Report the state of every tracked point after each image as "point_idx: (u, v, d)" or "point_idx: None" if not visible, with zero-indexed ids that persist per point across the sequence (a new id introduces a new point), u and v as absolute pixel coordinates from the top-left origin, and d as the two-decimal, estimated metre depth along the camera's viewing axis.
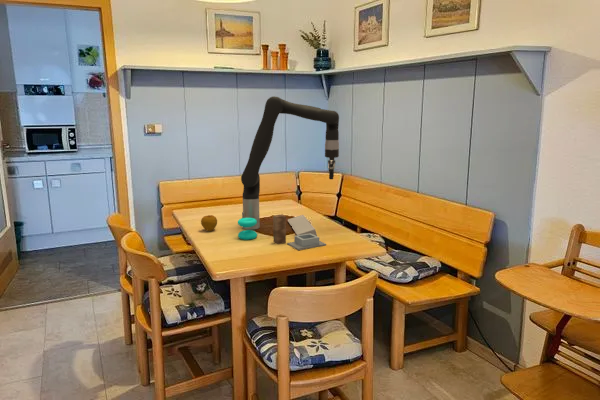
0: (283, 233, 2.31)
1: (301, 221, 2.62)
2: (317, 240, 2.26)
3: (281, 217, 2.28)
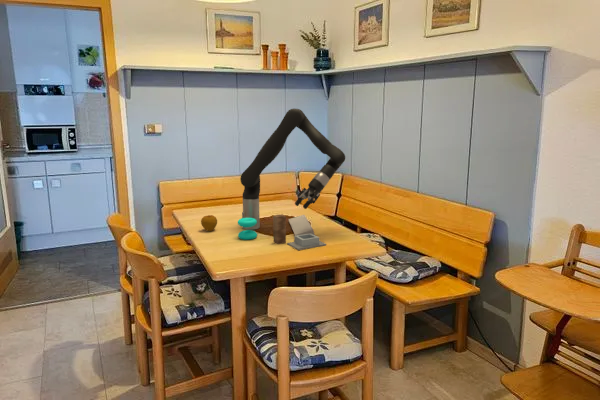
0: (283, 233, 2.31)
1: (301, 221, 2.62)
2: (317, 240, 2.26)
3: (281, 217, 2.28)
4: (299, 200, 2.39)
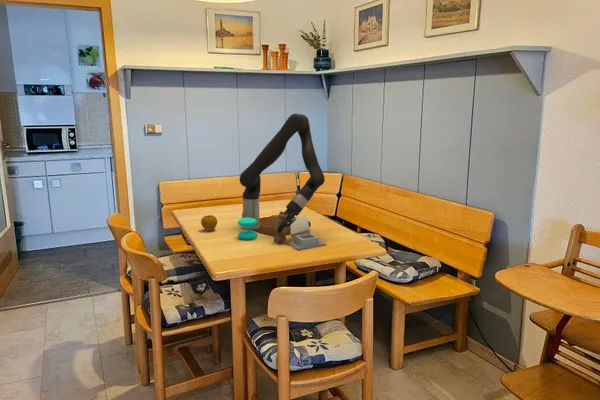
0: (283, 233, 2.31)
1: (301, 221, 2.62)
2: (317, 240, 2.26)
3: (281, 217, 2.28)
4: None
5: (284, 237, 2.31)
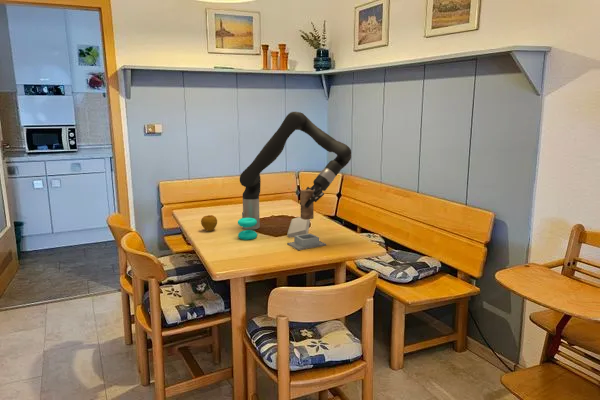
0: (311, 209, 2.24)
1: (301, 221, 2.62)
2: (317, 240, 2.26)
3: (309, 192, 2.21)
4: None
5: (312, 213, 2.24)
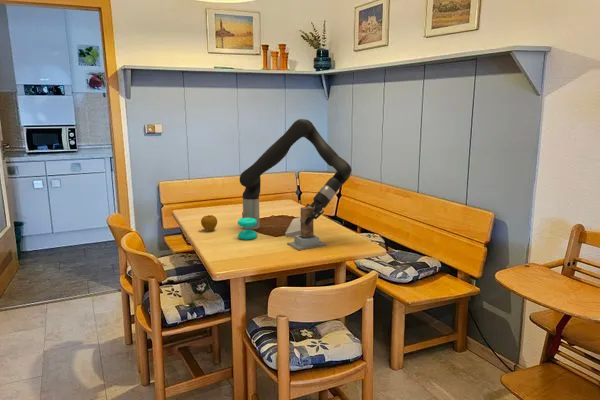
0: (311, 226, 2.25)
1: None
2: (317, 240, 2.26)
3: (309, 209, 2.23)
4: None
5: (312, 230, 2.26)
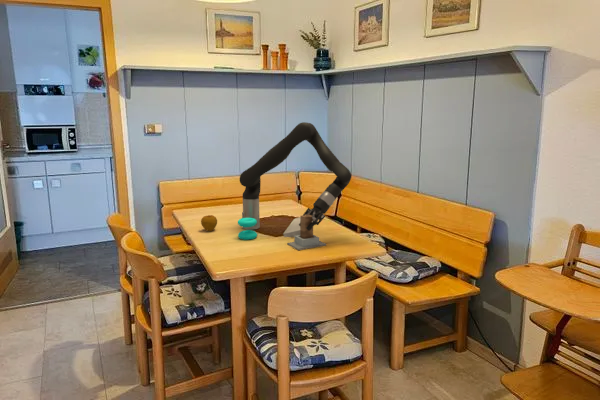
0: (311, 234, 2.26)
1: None
2: (317, 240, 2.26)
3: (309, 217, 2.24)
4: None
5: None
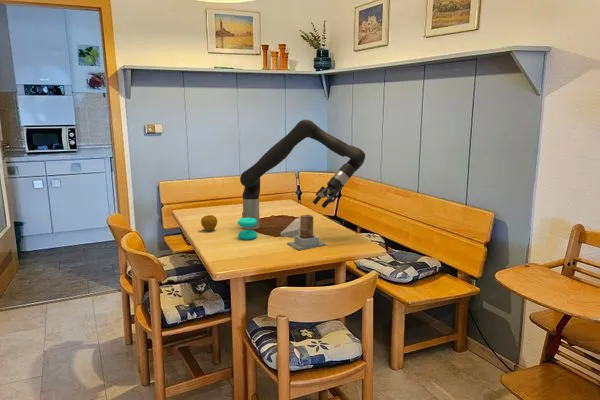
0: (311, 234, 2.26)
1: None
2: (317, 240, 2.26)
3: (308, 217, 2.24)
4: (317, 199, 2.34)
5: None
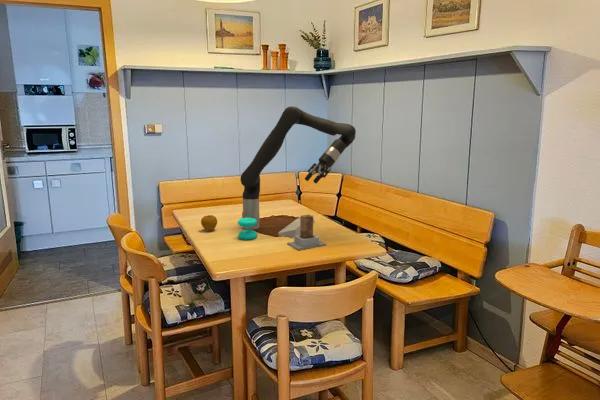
0: (311, 234, 2.26)
1: None
2: (317, 240, 2.26)
3: (308, 217, 2.24)
4: (309, 175, 2.35)
5: None
